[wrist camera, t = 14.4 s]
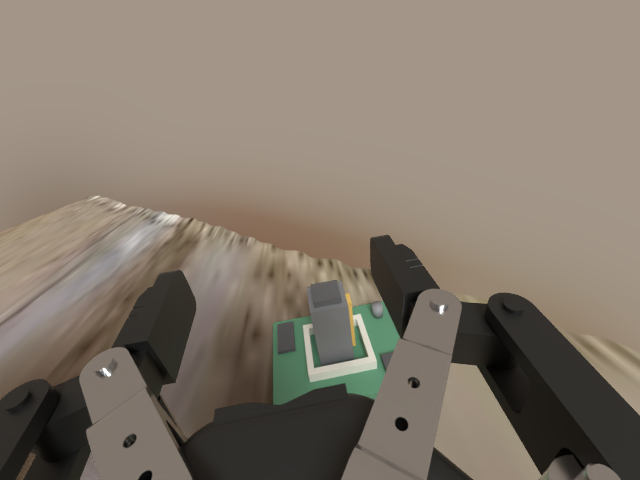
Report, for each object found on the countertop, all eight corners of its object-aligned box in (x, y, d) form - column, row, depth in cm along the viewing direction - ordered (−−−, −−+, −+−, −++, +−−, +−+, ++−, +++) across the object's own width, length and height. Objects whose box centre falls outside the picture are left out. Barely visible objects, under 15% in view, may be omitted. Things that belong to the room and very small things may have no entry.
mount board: (275, 420, 34) (269, 405, 33) (274, 328, 46) (270, 314, 45) (422, 388, 35) (424, 372, 34) (385, 306, 47) (384, 291, 45)
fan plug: (321, 366, 38) (308, 307, 32) (317, 339, 42) (305, 282, 36) (358, 359, 38) (352, 299, 33) (351, 332, 42) (345, 274, 36)
